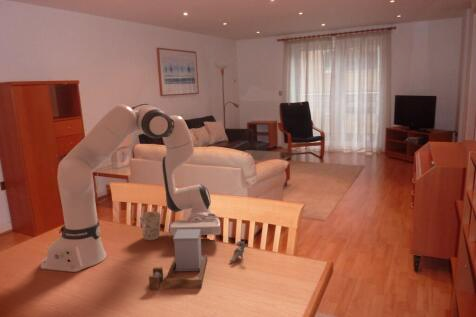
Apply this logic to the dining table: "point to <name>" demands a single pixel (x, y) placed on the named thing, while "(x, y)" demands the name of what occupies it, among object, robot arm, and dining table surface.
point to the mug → (150, 225)
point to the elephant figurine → (239, 250)
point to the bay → (176, 282)
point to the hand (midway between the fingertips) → (192, 236)
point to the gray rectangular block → (188, 249)
